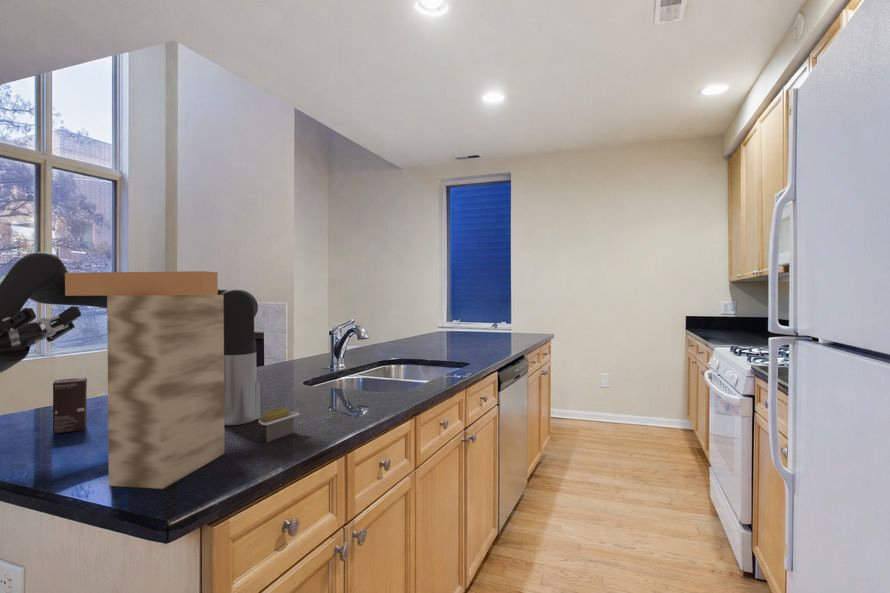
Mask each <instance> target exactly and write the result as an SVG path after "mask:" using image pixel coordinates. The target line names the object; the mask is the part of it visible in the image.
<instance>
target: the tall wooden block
mask: <svg viewBox="0 0 890 593" xmlns="http://www.w3.org/2000/svg"><path fill="white" fill-rule="evenodd" d="M106 309H107V310H106V314H107V315H106V318H107V322H106V323H107V325H106V326H107V327H106V328H107V333H106V334H107V419H108V421H107V425H108V426H107V427H108V428H107V430H108V432H107V434H108V435H107V437H108V438H107V440H108V446H107V447H108V452H107V453H108V486H109V487H127V488H142V489H158V490H159V489H161V490H163V489H165V488H167V487H169V486H171V485H172V484H174V483H176V482H178V481H179V480H180V479H183V478H184V477H186V476H188V475H190V474H191V473H193V472H195V471H197V470H199V469H200V468H202V467H203V466H205V465H207V464H209V463H210V462H212V461H214V460H216V459H217V458H219V457H221V456H223V455H224V454H226V453H225V452H226V450H225V449H226V448H225V442H226V441H225V425H224V298H223V295H114V296H107V308H106Z"/></svg>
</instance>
